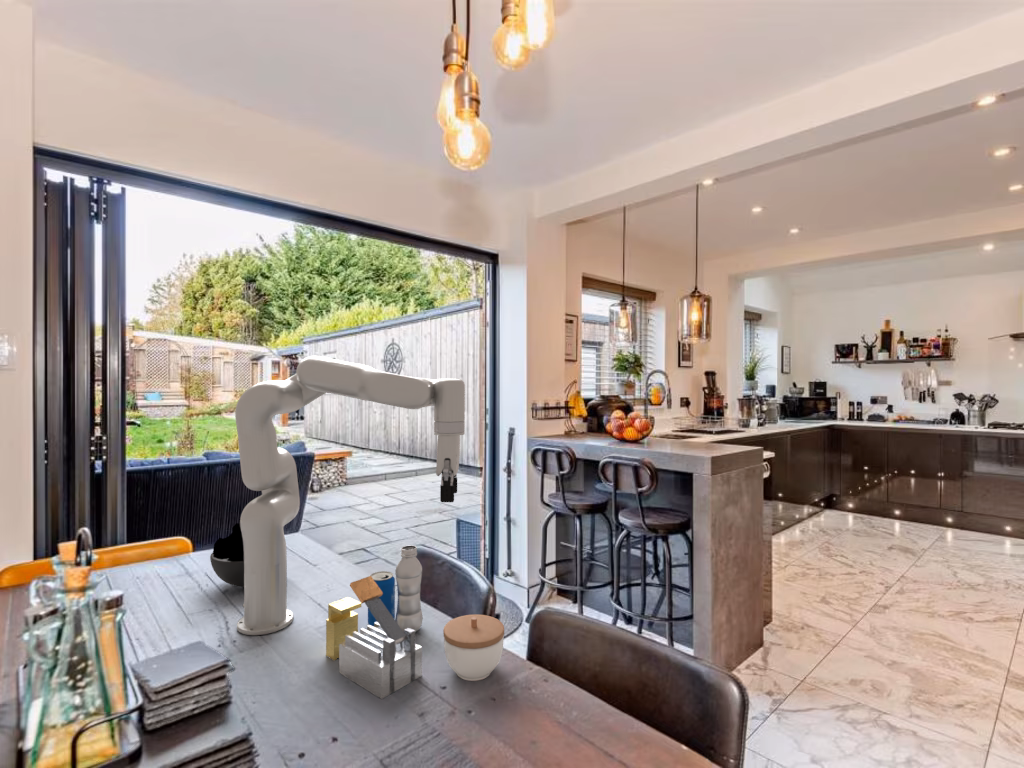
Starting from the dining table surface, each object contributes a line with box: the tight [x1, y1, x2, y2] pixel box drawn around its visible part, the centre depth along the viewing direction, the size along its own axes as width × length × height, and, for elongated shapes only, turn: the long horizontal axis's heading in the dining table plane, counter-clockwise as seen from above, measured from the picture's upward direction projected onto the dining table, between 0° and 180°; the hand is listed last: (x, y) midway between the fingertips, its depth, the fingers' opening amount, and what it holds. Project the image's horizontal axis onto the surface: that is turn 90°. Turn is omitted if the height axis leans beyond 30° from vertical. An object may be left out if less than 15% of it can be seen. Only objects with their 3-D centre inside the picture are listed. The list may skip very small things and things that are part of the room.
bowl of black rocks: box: [209, 522, 287, 588], centre depth 154 cm, size 20×20×19 cm
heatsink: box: [338, 622, 423, 700], centre depth 108 cm, size 14×10×10 cm
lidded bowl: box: [442, 613, 505, 682], centre depth 109 cm, size 13×13×11 cm
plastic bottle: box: [394, 544, 424, 633], centre depth 126 cm, size 6×7×20 cm
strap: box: [349, 575, 408, 645], centre depth 108 cm, size 16×5×1 cm
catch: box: [325, 596, 362, 661], centre depth 115 cm, size 5×6×11 cm
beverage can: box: [367, 570, 396, 627], centre depth 130 cm, size 6×6×12 cm
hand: (449, 497), depth 130 cm, fingers open, 9 cm apart
